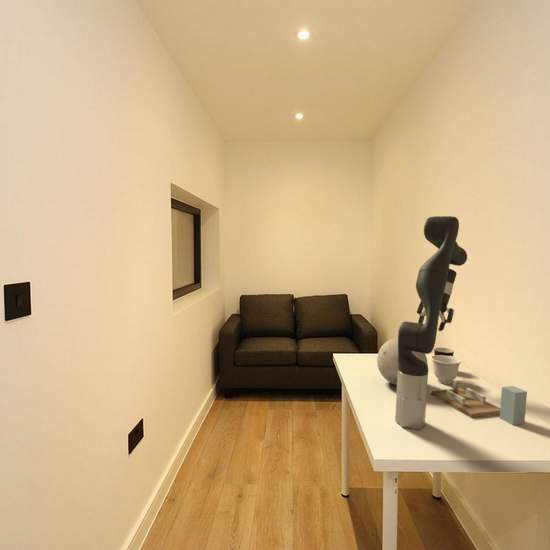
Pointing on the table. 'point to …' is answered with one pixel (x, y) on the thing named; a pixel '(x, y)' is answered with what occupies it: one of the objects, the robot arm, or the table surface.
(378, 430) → the table surface
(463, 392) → the plate
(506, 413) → the block
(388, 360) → the moon model
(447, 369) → the teacup
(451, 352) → the coffee mug
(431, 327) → the robot arm
